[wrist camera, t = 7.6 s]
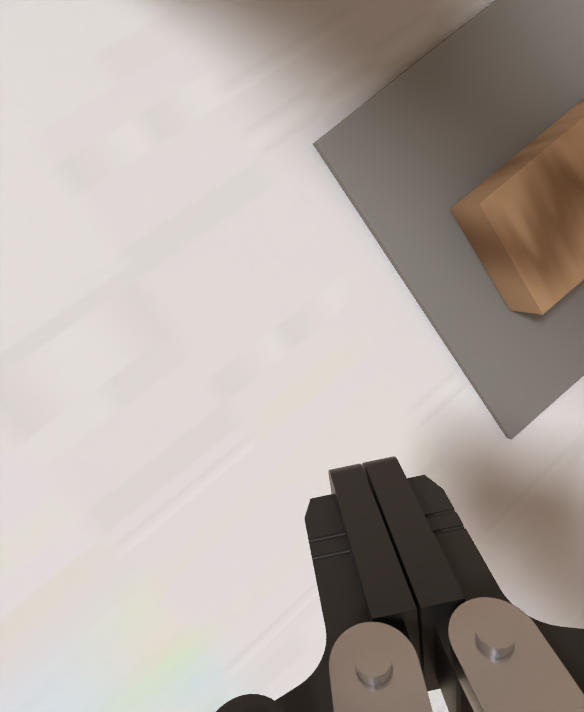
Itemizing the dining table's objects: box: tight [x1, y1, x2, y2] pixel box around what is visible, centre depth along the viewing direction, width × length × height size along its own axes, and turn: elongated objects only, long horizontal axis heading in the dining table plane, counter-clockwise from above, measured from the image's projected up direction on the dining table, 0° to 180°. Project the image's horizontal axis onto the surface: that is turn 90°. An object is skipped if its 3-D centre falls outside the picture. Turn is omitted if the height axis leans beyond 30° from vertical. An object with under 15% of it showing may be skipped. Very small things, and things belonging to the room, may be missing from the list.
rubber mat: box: [313, 0, 584, 439], centre depth 33 cm, size 24×20×1 cm
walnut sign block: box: [450, 99, 584, 315], centre depth 31 cm, size 8×3×12 cm
